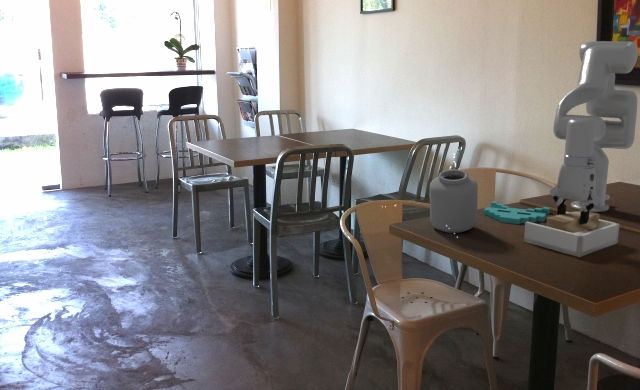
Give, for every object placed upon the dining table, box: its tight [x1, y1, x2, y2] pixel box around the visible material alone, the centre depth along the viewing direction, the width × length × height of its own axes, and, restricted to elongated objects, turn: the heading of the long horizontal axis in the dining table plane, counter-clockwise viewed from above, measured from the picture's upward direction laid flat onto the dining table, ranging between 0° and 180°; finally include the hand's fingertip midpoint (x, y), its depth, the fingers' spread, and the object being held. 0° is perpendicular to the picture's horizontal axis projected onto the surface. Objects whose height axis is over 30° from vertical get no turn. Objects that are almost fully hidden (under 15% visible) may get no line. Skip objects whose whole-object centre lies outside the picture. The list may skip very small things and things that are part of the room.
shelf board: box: [545, 210, 600, 233], centre depth 187 cm, size 16×6×4 cm, turn 122°
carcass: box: [523, 211, 620, 258], centre depth 188 cm, size 20×18×6 cm
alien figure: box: [483, 201, 551, 225], centre depth 218 cm, size 20×2×20 cm
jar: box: [429, 153, 479, 238], centre depth 199 cm, size 19×15×25 cm
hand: (572, 220), depth 187 cm, fingers open, 6 cm apart
